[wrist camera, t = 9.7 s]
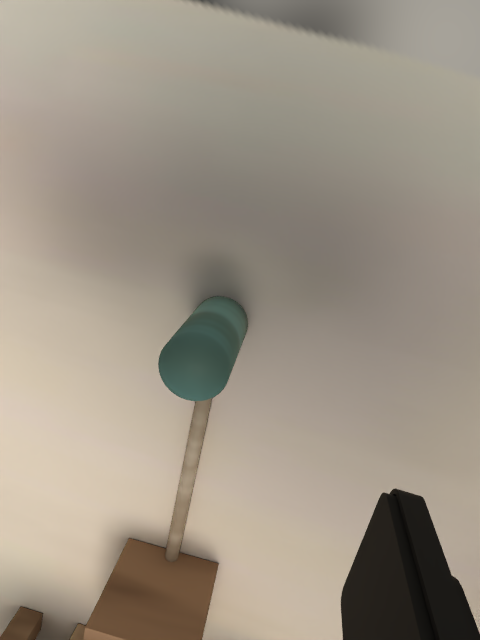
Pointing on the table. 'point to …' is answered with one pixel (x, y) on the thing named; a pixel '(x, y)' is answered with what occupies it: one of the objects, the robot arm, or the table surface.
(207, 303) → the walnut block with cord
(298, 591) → the table surface
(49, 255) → the table surface
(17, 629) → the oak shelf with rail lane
